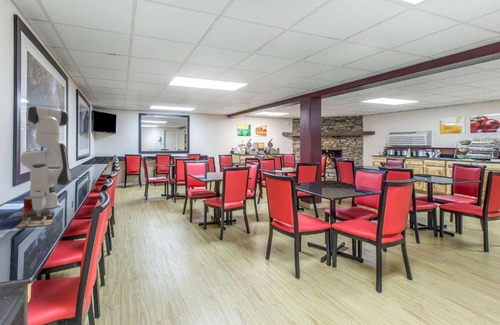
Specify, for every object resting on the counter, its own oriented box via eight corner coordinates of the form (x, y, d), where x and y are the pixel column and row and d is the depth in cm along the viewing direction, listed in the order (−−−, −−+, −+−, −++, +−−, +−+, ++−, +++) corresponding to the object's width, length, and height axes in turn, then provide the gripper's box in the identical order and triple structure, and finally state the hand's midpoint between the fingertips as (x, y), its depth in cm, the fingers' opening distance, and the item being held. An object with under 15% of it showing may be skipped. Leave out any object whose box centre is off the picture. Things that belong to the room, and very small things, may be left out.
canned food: (31, 216, 166) (31, 198, 166) (20, 215, 168) (20, 197, 167) (43, 213, 174) (43, 196, 173) (32, 212, 175) (32, 195, 175)
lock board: (26, 218, 162) (26, 212, 162) (55, 216, 170) (55, 210, 169) (17, 229, 142) (17, 222, 142) (50, 226, 149) (50, 219, 149)
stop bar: (28, 218, 157) (28, 211, 157) (29, 217, 160) (29, 210, 160) (49, 217, 162) (49, 210, 162) (50, 215, 165) (50, 209, 165)
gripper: (35, 189, 168) (35, 212, 168) (29, 194, 150) (29, 220, 151) (48, 189, 171) (48, 211, 172) (44, 194, 153) (44, 218, 154)
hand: (39, 215), depth 161 cm, fingers open, 5 cm apart
